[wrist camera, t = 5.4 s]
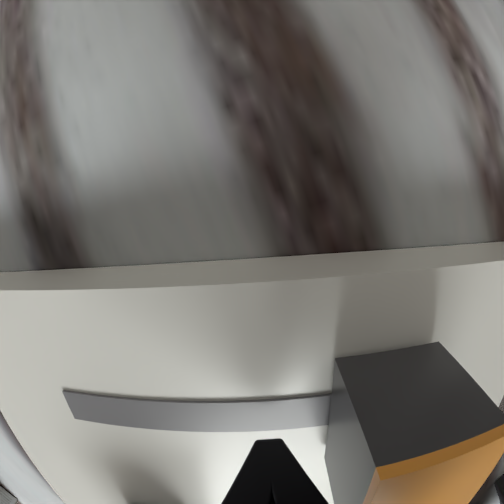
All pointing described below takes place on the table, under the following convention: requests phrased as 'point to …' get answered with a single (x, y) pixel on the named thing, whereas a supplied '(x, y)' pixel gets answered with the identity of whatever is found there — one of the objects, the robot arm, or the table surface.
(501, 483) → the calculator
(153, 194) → the table surface
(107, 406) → the breaker panel
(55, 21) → the table surface
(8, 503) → the light bulb box
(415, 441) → the block
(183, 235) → the table surface
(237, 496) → the robot arm
